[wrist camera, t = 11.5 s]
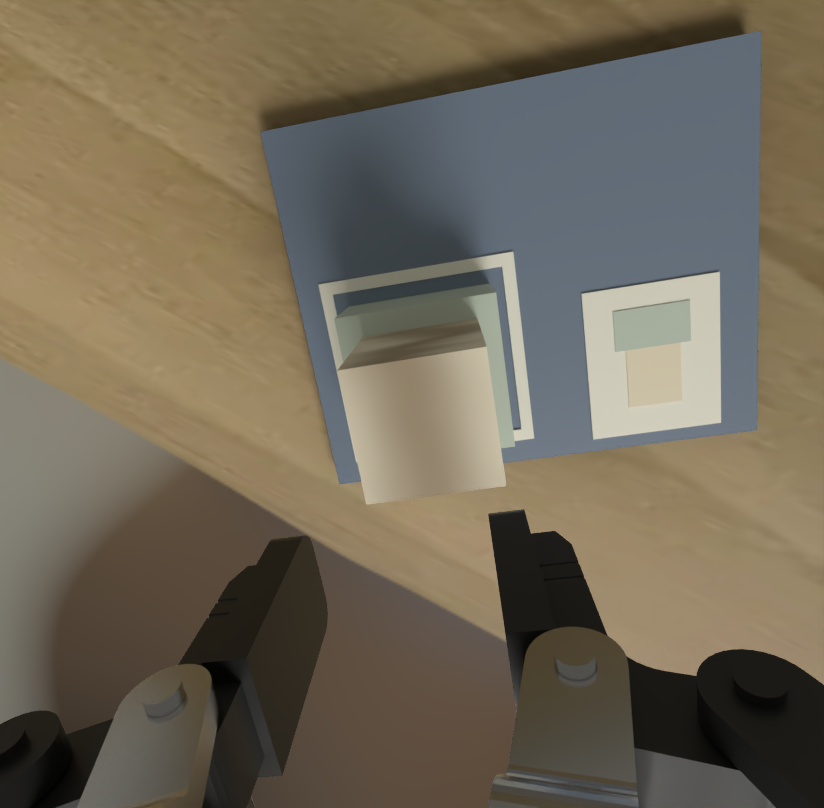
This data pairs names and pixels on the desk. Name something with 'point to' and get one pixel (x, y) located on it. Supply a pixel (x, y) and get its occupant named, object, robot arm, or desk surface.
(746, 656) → the robot arm
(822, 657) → the desk surface
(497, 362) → the base block
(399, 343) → the maple block
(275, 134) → the build board
